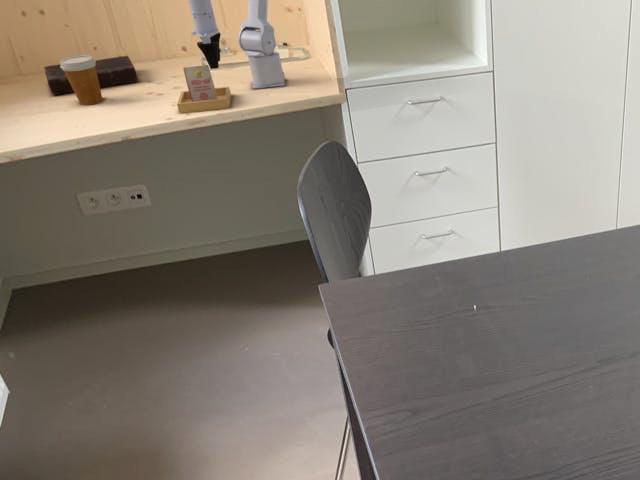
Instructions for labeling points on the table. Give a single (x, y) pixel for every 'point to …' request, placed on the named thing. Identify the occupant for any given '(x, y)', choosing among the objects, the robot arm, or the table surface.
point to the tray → (219, 103)
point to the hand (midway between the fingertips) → (215, 64)
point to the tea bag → (200, 83)
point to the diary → (106, 70)
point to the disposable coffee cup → (83, 78)
